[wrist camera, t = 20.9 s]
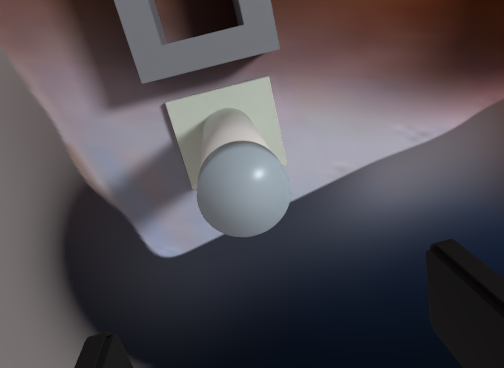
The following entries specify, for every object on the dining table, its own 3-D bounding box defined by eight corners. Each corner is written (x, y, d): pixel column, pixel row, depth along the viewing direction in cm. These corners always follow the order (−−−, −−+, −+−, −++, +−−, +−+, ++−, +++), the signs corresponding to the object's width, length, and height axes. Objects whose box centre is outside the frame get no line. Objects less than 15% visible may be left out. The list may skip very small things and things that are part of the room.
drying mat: (165, 101, 35) (165, 102, 34) (267, 75, 35) (268, 76, 34) (193, 187, 38) (192, 189, 37) (286, 163, 38) (287, 164, 38)
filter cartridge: (194, 114, 35) (184, 162, 20) (249, 100, 35) (280, 138, 20) (209, 167, 37) (211, 246, 22) (261, 153, 37) (298, 223, 22)
